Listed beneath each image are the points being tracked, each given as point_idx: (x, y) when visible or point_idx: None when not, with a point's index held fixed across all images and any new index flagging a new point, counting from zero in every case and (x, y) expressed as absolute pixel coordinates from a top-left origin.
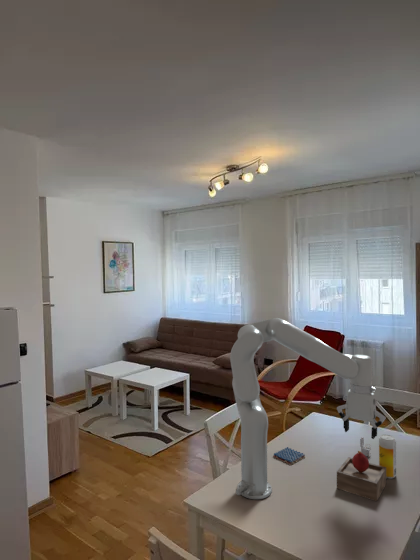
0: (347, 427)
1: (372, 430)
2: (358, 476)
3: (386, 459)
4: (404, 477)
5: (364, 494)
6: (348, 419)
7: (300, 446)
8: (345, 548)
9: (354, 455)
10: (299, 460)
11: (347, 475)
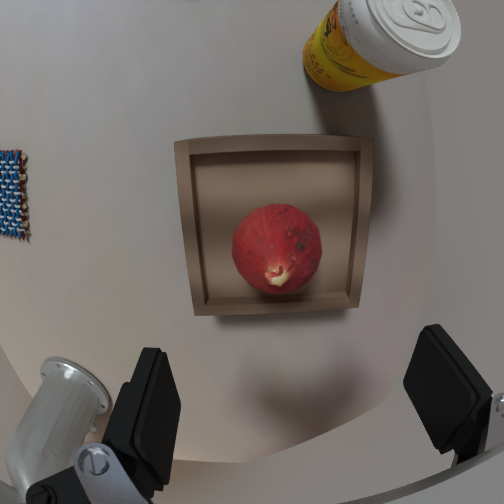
0: (170, 418)
1: (436, 436)
2: None
3: (369, 82)
4: None
5: None
6: (127, 445)
7: None
8: (305, 432)
9: (244, 269)
10: (25, 186)
11: (241, 312)
